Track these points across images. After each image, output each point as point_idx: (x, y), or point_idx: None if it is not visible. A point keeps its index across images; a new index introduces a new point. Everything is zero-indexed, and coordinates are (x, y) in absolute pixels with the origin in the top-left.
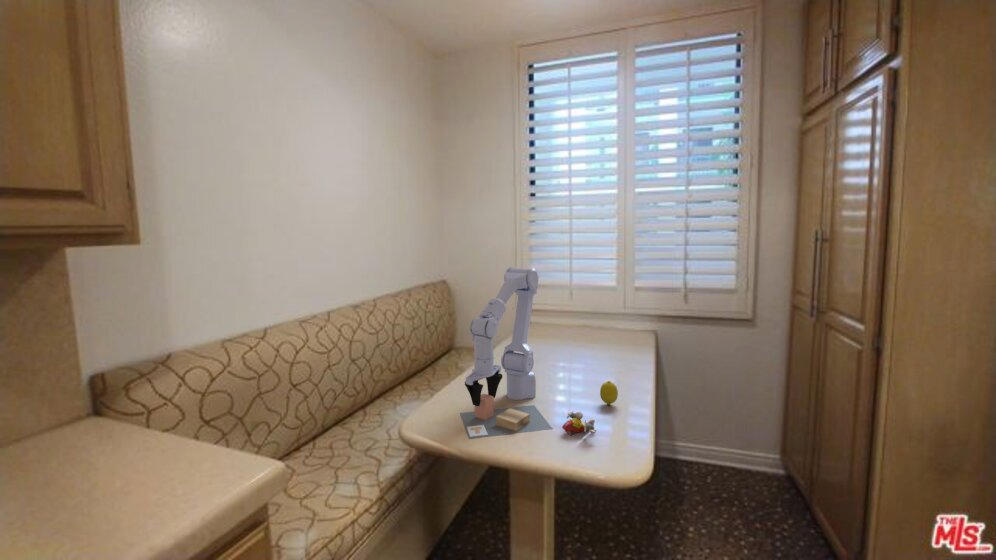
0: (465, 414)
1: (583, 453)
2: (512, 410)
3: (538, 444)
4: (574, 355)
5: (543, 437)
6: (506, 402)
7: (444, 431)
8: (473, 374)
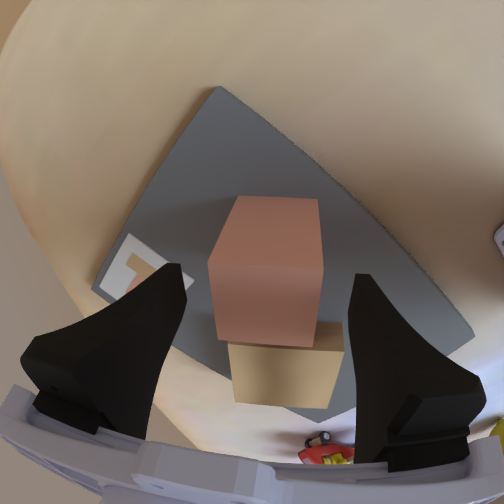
0: (224, 129)
1: (260, 453)
2: (327, 366)
3: (233, 411)
4: None
5: (273, 412)
6: (499, 215)
7: (67, 162)
8: (92, 461)
